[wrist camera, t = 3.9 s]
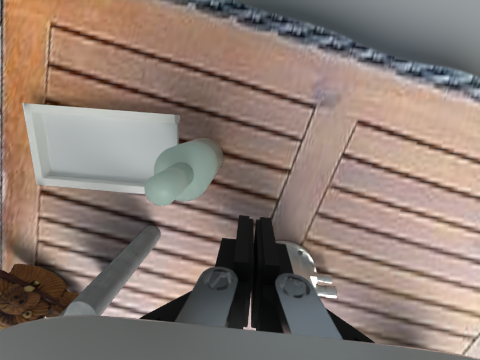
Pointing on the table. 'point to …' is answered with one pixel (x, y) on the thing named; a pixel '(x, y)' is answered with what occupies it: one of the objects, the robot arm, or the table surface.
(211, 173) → the bottle
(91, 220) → the table surface
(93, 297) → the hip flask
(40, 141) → the white rectangular tray
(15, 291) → the wooden carving
